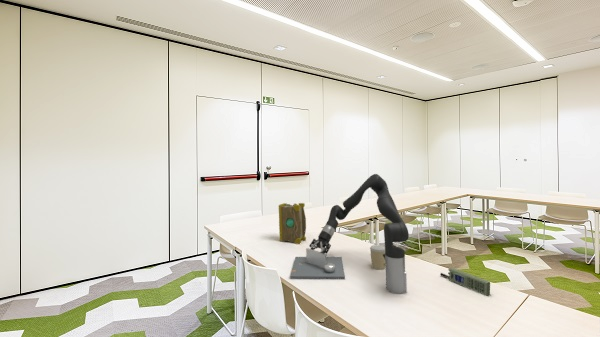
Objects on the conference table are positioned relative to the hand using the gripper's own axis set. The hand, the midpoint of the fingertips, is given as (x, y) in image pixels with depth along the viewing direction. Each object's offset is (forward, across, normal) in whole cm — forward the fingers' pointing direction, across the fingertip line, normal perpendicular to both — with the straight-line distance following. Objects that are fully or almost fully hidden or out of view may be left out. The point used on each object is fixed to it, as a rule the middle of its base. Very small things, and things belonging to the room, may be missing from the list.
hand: (314, 256), depth 172 cm
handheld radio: (-22, -70, -32) cm, 80 cm away
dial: (+4, -6, -2) cm, 7 cm away
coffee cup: (-14, -27, -24) cm, 39 cm away
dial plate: (+5, -3, -4) cm, 7 cm away
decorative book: (-11, +50, -21) cm, 55 cm away
